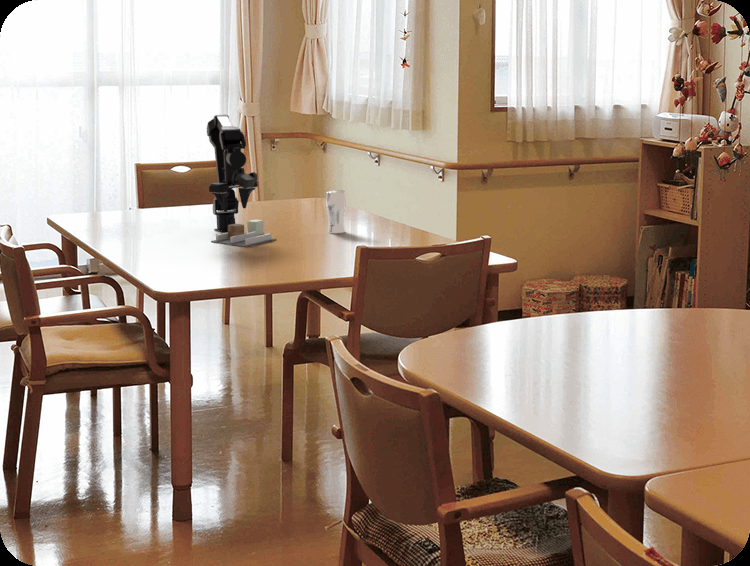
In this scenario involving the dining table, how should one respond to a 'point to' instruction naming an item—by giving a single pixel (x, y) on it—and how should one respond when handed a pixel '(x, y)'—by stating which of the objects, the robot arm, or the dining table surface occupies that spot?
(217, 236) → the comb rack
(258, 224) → the sage block
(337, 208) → the white tall carton
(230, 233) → the walnut block
